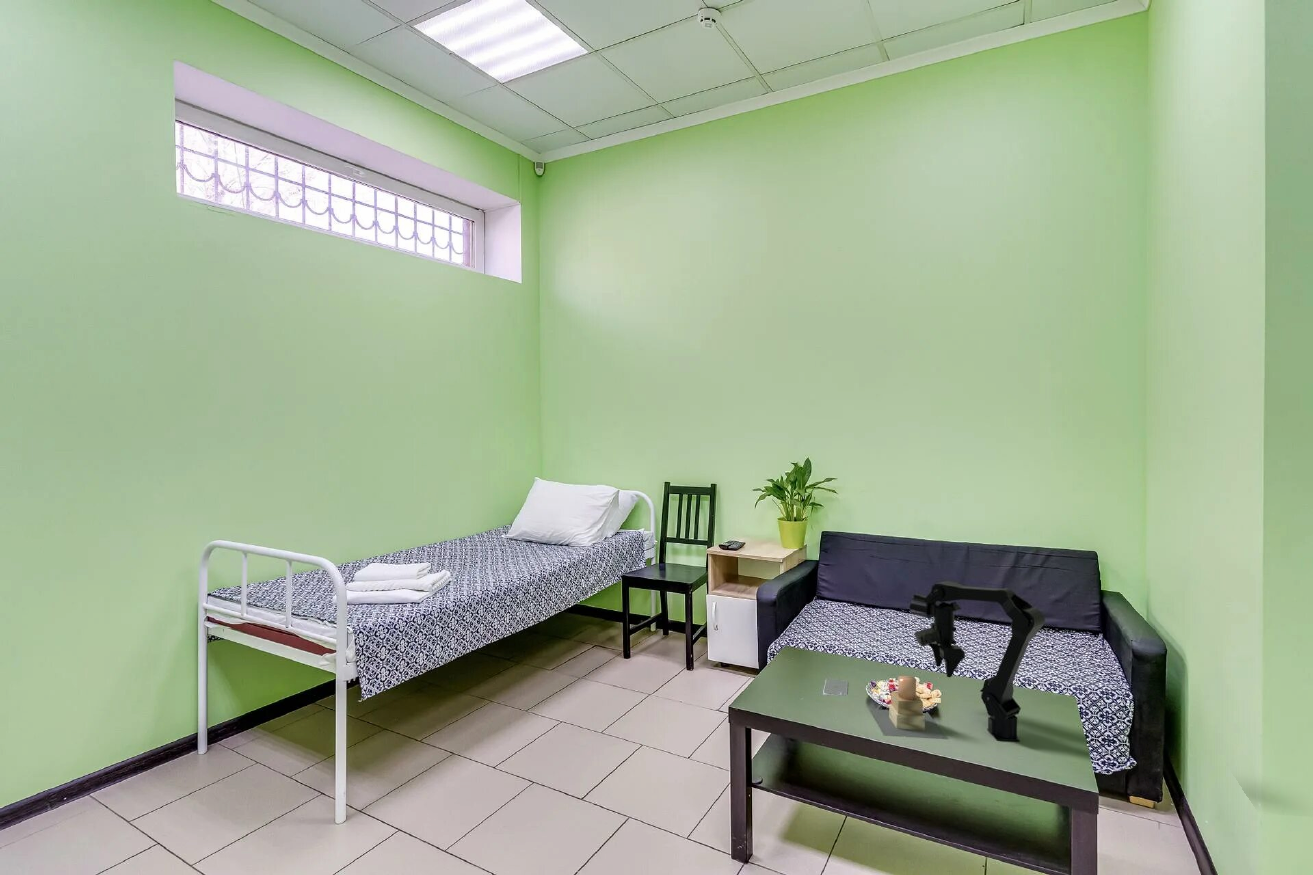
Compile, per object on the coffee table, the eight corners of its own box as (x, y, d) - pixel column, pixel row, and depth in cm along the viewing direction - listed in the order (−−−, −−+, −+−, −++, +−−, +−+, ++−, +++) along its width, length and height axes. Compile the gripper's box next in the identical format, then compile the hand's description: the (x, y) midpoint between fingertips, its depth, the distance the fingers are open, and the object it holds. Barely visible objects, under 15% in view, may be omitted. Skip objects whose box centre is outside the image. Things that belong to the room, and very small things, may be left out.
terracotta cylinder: (912, 693, 190) (913, 675, 190) (918, 700, 185) (918, 681, 185) (896, 692, 191) (896, 674, 191) (900, 699, 186) (901, 680, 186)
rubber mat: (927, 713, 196) (927, 712, 196) (948, 740, 178) (948, 738, 178) (868, 710, 198) (868, 708, 198) (883, 736, 180) (883, 735, 180)
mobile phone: (848, 680, 221) (846, 696, 207) (848, 682, 221) (846, 699, 207) (825, 677, 224) (822, 692, 210) (825, 679, 224) (822, 695, 210)
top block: (915, 705, 191) (915, 692, 191) (922, 715, 184) (922, 701, 184) (891, 704, 192) (891, 691, 192) (898, 714, 185) (898, 700, 185)
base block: (916, 718, 192) (916, 705, 192) (924, 729, 184) (924, 716, 184) (889, 716, 192) (889, 703, 192) (896, 728, 184) (896, 714, 184)
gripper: (908, 612, 207) (907, 660, 207) (927, 629, 188) (926, 681, 188) (943, 614, 206) (942, 661, 206) (966, 631, 187) (965, 683, 187)
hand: (943, 671), depth 197 cm, fingers open, 9 cm apart
